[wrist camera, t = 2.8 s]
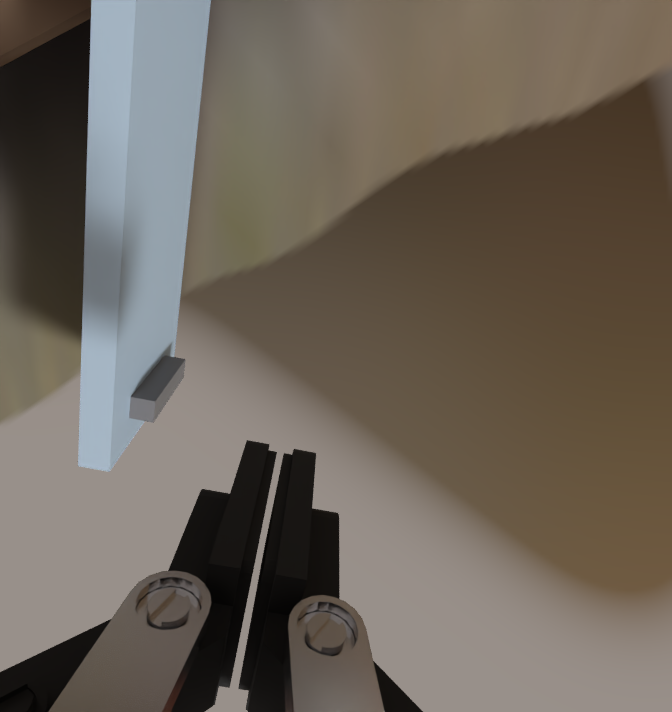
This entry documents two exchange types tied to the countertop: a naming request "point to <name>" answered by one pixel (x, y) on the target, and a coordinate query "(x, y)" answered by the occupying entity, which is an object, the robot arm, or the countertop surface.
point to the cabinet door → (136, 212)
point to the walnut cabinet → (36, 23)
